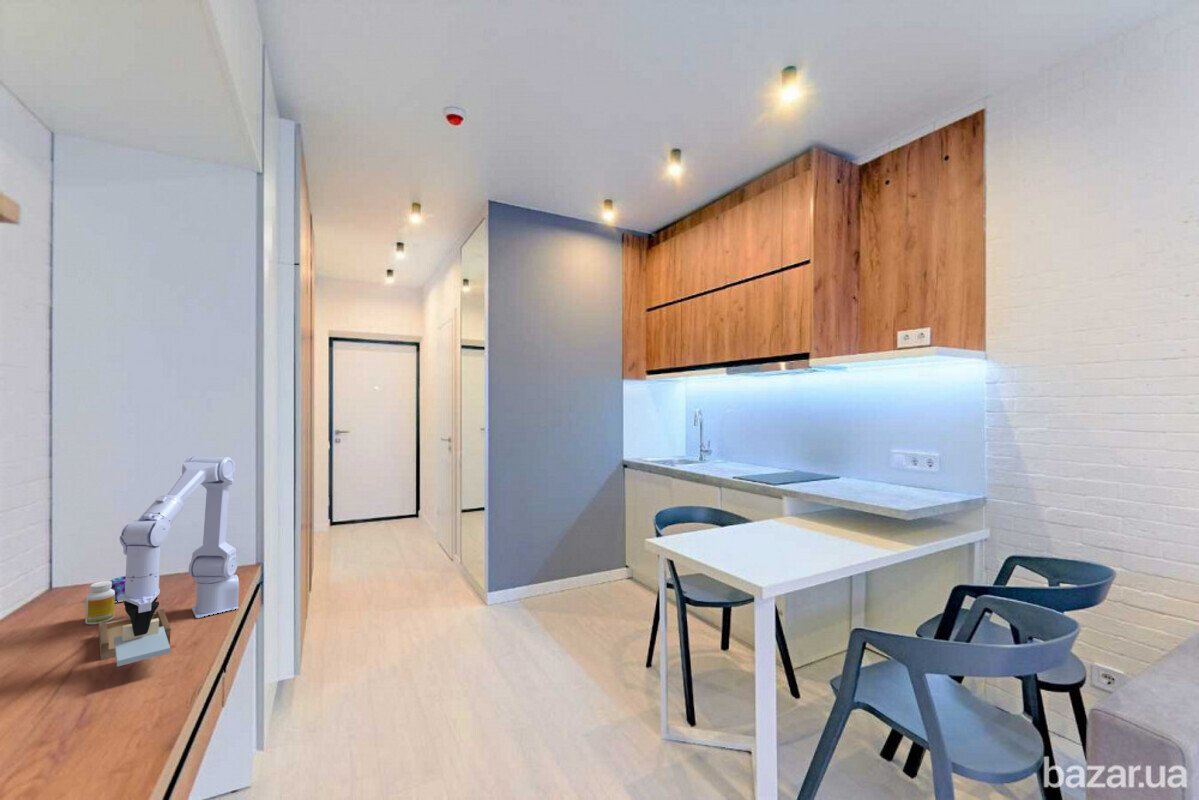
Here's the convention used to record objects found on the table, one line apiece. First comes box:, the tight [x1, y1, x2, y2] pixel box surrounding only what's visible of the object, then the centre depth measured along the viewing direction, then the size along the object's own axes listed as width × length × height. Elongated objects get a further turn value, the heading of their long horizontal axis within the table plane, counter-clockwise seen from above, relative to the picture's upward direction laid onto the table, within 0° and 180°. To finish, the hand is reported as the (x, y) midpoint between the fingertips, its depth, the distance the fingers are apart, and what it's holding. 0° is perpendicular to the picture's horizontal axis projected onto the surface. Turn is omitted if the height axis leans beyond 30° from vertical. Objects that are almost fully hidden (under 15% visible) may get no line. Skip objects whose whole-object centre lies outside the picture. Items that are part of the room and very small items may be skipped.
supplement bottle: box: [84, 580, 116, 626], centre depth 131 cm, size 5×5×10 cm
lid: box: [114, 618, 171, 668], centre depth 112 cm, size 8×12×4 cm
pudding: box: [110, 575, 126, 603], centre depth 146 cm, size 12×12×5 cm
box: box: [98, 608, 172, 661], centre depth 123 cm, size 12×14×4 cm
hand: (140, 632), depth 114 cm, fingers closed on lid, 2 cm apart
